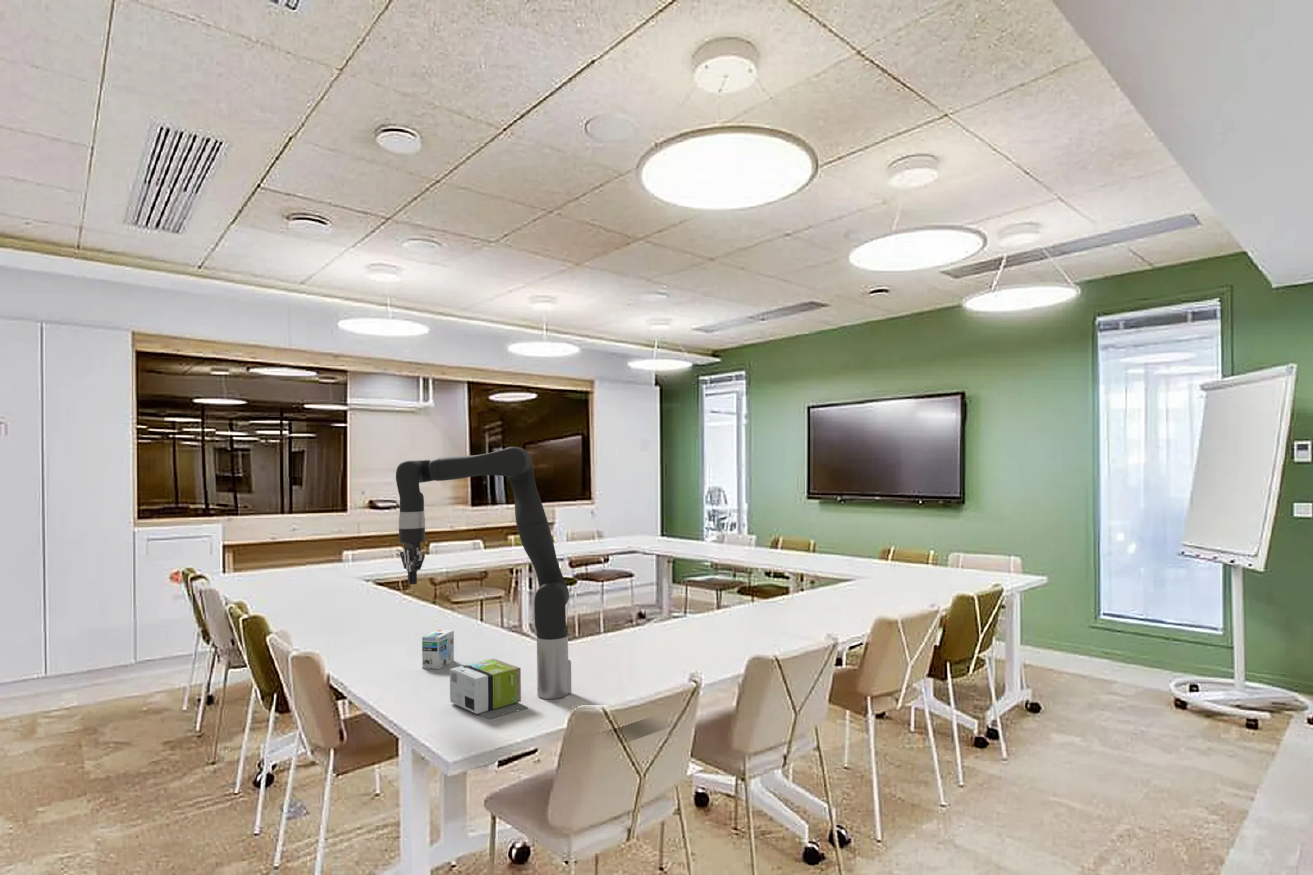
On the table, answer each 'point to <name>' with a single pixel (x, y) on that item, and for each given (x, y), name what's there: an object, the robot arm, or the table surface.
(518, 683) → the tea box
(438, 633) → the light bulb box
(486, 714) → the mat
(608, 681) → the table surface
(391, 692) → the table surface
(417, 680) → the table surface
